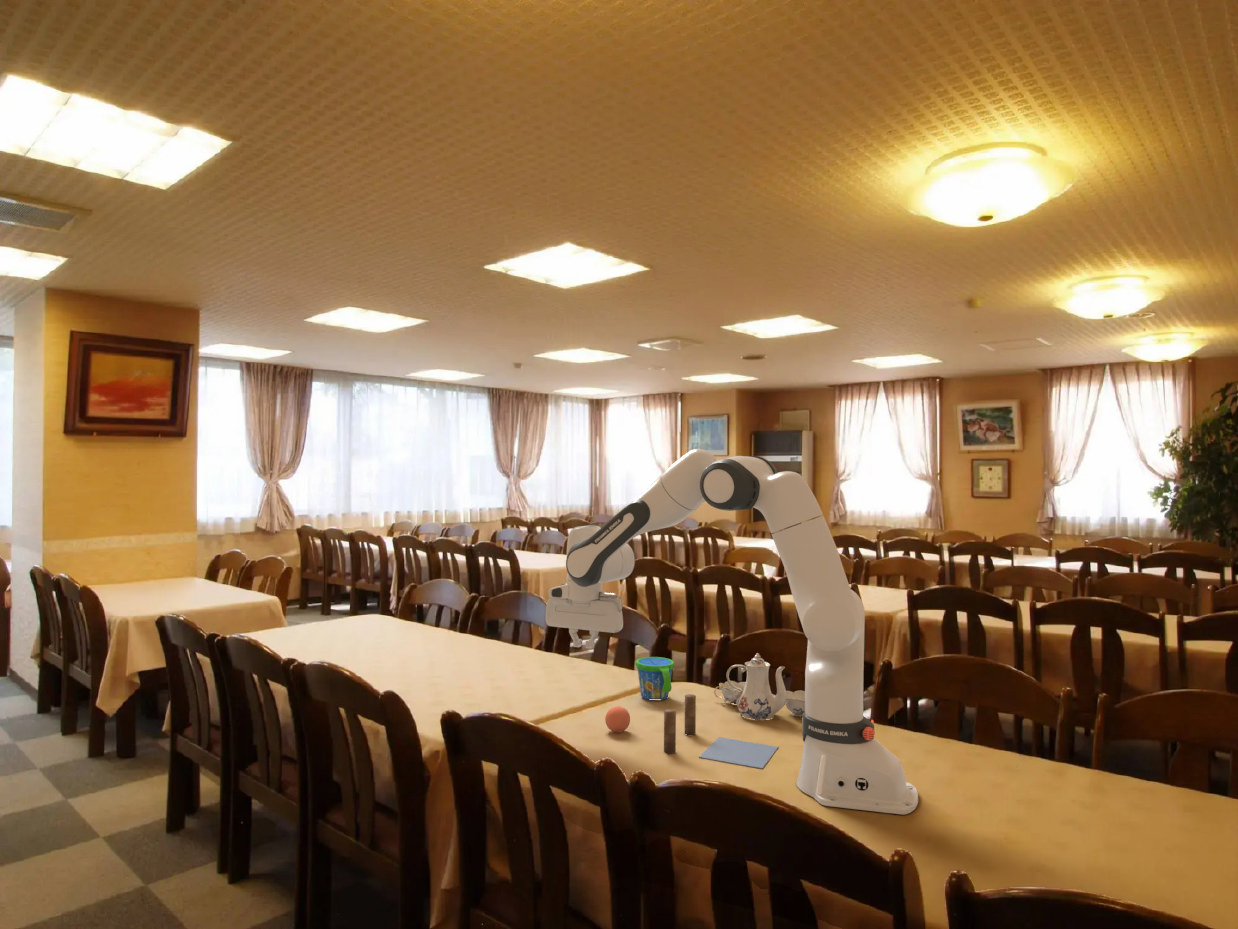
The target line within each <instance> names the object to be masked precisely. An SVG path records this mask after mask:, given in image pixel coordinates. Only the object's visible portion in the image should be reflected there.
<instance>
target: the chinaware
mask: <svg viewBox="0 0 1238 929" xmlns="http://www.w3.org/2000/svg"><path fill="white" fill-rule="evenodd" d="M770 666H771V664H770V663H769V662H767V661H765V659H763V658H762V657H761V655H760V653H758V652H757V653H756V654H755V655H754V657H753V658H751V660H750V661H746V662H744V665H743V664H734V665H731V666H730V667H729V668H728V669H727V671H726V674H725V675H726V680H727V681H725V682H719V683H718V685H719V686H716V687H715V689H714V696H715V697H716V698H718V699H723V702H725V703H726V702H729V704H730V703H734V704H737V709H738V711H739V712H740V715H741V714H742V716H744V717H745V718H751V719H755V720H766V719H771V718H773V719H775V716H774V715H776V714H778V713H779V711H781V710H782V709H783V708H784V706H786V708H787V710H788V711H790V712H791V715H792V716H793V717H797V716H799V718H802V717H803V713H804V712H805V690H796V691H790V690H786V686H785V684H784V683H785V682H784V680H783V675H782V672H783V670H784V669H785V668H786V667H785V666H783V665H781V666H779V667H778V668H777V669H776V672H775V682H776V683H775V684H776V694H773V693H772V691H771V686H770V682H769V669H770ZM739 667H740V668H741V669H740V672H741V673H744V672H746V681H740V682H737V681H735V680H730V677H729V676H730V672H731V670H732V669H734V668H739ZM718 688H719V690H721V692H722V693H721V694H722V696H719V695H717V693H716V691H717V689H718ZM742 716H741V717H742ZM801 716H802V717H801ZM745 718H744V719H745Z"/></svg>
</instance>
